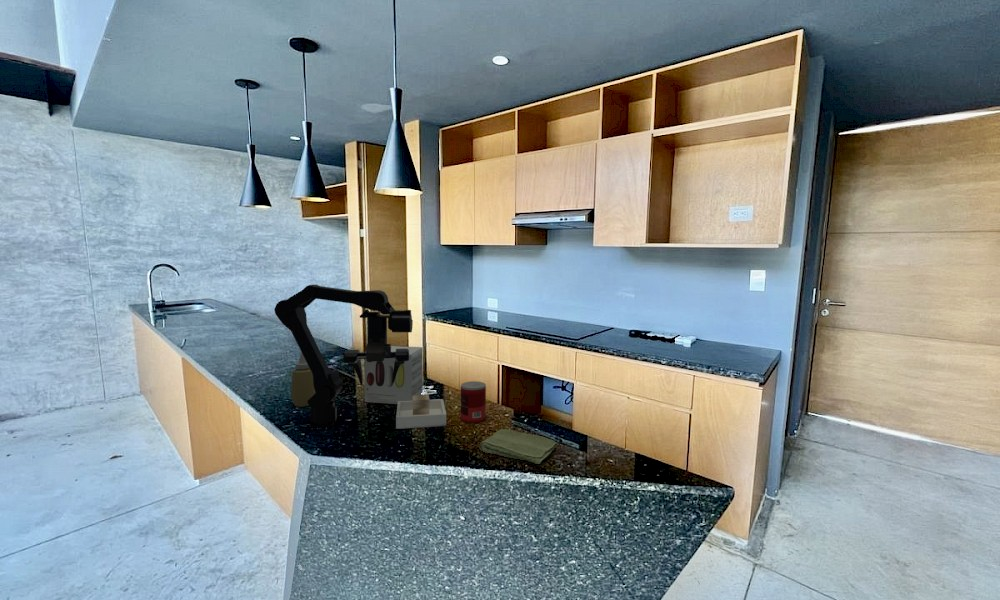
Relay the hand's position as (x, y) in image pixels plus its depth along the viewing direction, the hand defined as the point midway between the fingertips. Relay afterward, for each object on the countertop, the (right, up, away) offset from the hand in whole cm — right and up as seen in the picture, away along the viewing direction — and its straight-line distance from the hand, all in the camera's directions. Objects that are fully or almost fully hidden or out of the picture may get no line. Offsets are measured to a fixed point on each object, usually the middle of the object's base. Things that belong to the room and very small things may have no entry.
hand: (377, 383), depth 124 cm
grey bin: (+12, -12, +4) cm, 18 cm away
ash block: (+12, -11, +5) cm, 17 cm away
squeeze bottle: (-30, -11, +16) cm, 36 cm away
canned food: (+29, -12, +5) cm, 32 cm away
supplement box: (-1, -11, +24) cm, 26 cm away
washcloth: (+42, -15, -17) cm, 47 cm away
